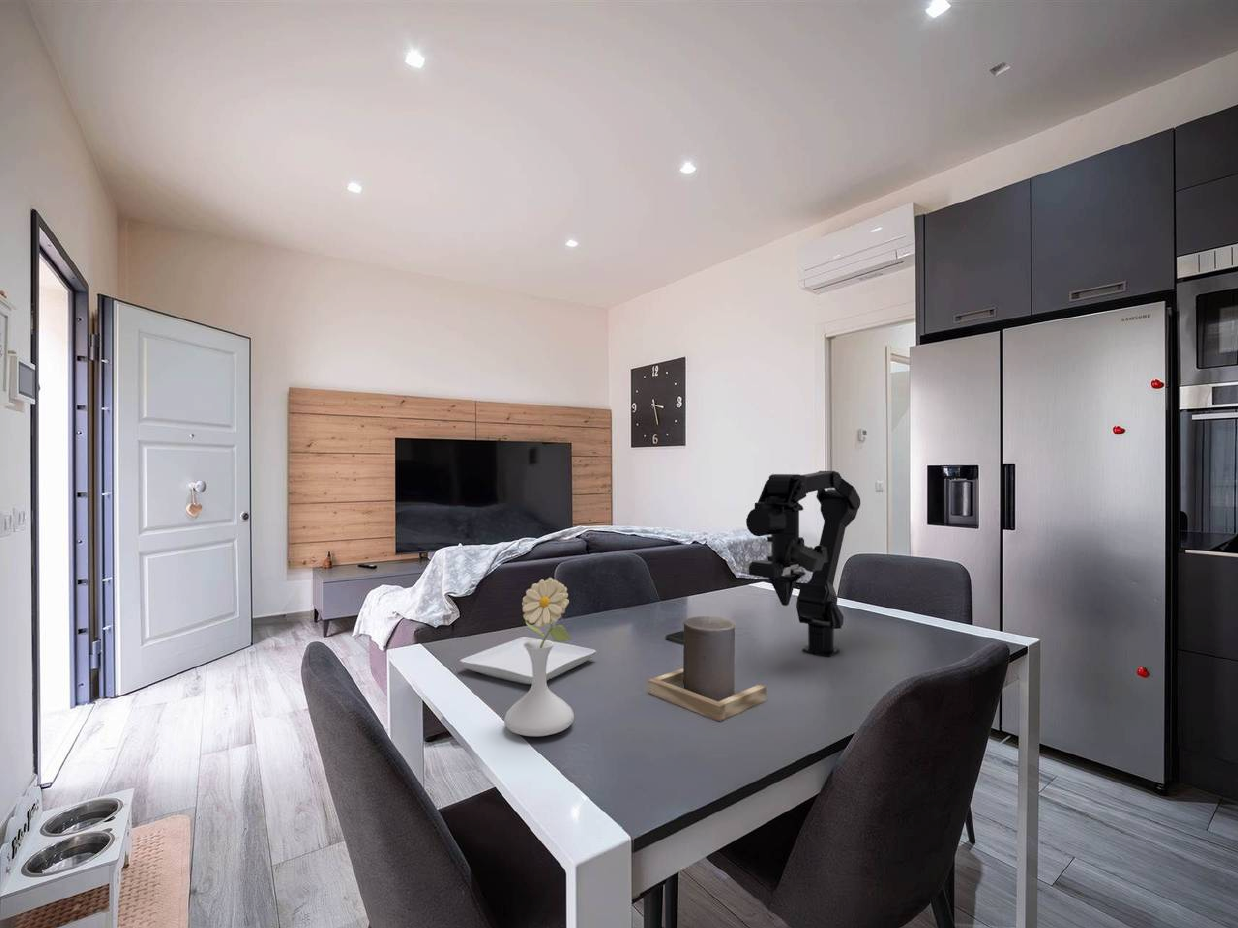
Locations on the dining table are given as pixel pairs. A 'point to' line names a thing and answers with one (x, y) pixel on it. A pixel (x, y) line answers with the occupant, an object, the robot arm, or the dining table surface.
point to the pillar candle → (709, 657)
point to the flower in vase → (541, 665)
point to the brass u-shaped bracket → (718, 711)
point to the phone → (676, 637)
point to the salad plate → (525, 660)
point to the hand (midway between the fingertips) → (785, 605)
